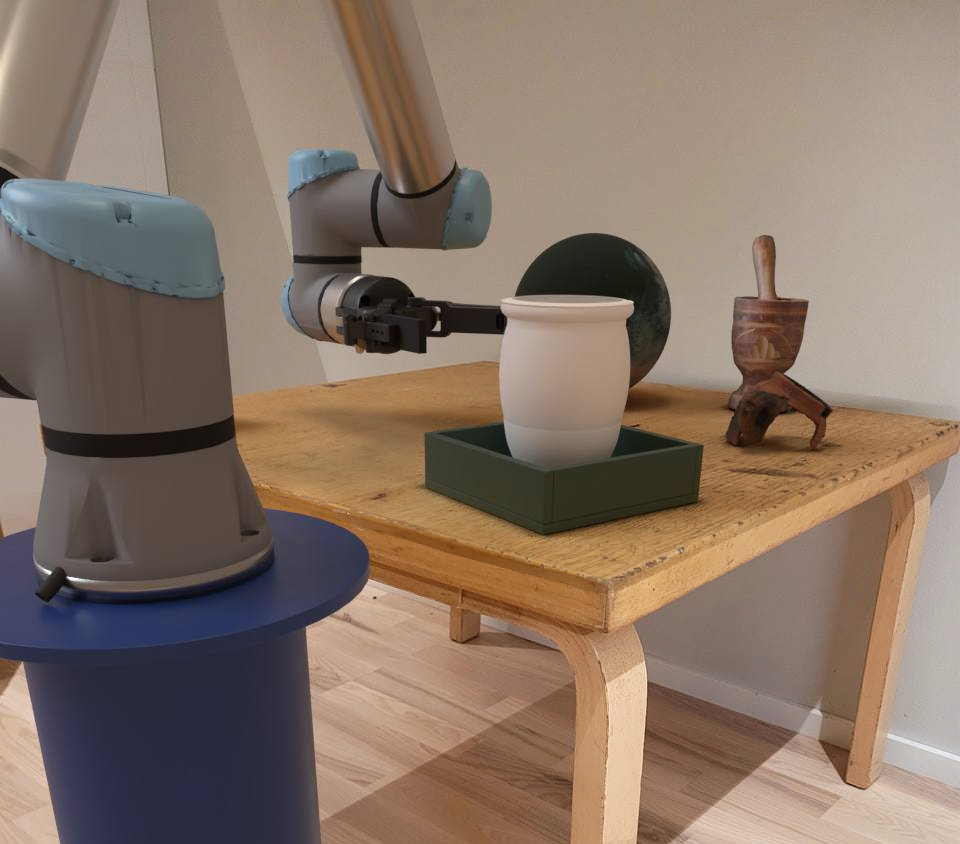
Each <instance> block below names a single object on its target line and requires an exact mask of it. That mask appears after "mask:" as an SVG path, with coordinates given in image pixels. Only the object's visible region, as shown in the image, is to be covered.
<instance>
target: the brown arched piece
mask: <svg viewBox="0 0 960 844" xmlns="http://www.w3.org/2000/svg"><path fill="white" fill-rule="evenodd" d="M782 399H784V400H787V406H788V408H789V407H790V410H789V412H791V413H795V412H797V413H799V414H802V415H804V416H805V417H806V418H807V419H809V420H810V421H811V422H813V424H814V425H815V429H814V432H813V435H812V436H811V438H810V441H809V447H810V448H811V450H816V449H817V448H818V446H819V444H821V442H822V440H823V438H825V437H826V431H827V419H828V417H829V416H830V415H831V414H832V413H833V412H834V410H833V408H831V406H830V405H829V404H828V403H827V402H825V401H824V400H823V399H821V398H820V397H819V396H818V395H816V394H815V393H813V392H812V391H811V390H810V389H808V388H806V387H805V386H804V385H802V384H800V383H799V382H798V381H796V380H795V379H793V378H792V377H790V376H788V375H787V374H785V373H784V374H782V373H779V372H775V373H774V375H773V376H772V378H771V379H770V380H767V381H763V382H761V383H757V384H756V385H755V386H752V387H751V388H750V390H748V391H747V392H746V394H745V395H744V396H742V400H740V401H739V405H738V406H737V407H736V409H735V410H734V411H733V415H732V416H731V419H730V421H729V425H728V427H727V430H726V432H725V434H724V435H725V438H726V439H727V440H728V441H729V442H730V443H731V444H733V445H734V446H738V445H739V443H740V440H741V439H740V438H741V436H742V437H743V439H744V440H745V441H746V442H751V443H761V442H762V441H763V438H764V437H765V435H766V433H767V431H768V429H769V427H770V426H771V425H772V424H773V423H774V421H775V419H776V418H777V417H778V416H779V415H780V414H781V408H782V405H783V401H782Z"/></svg>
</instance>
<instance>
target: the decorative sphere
mask: <svg viewBox="0 0 960 844" xmlns="http://www.w3.org/2000/svg"><path fill="white" fill-rule="evenodd" d="M529 295H589V296H605V297H614V298H621V299H626V300H630V301H633V302H634V303H633V305H634V311H633V314H632V315H631V316H630V317H628V318H627V319H626V329H627V333H628V338H629V347H630V381H629V389H628V390H630V389H631V388H633V387H635V386H636V385H637V384H638V383H640V382H641V381H643V379H645V377H647V375H648V374H649V373H651V371H652V369H653V368H654V367H655V365H656V364H657V363H658V361H659V359H660V357H661V356H662V354H663V352H664V350H665V347H666V345H667V341H668V339H669V334H670V330H671V324H672V323H671V322H672V304H671V297H670V293H669V288H668V287H667V283H666V281H665V279H664V277H663V274H662V273H661V271H660V269H659V268H658V266H657V264H656V263H655V261H654V260H653V259H652V258H651V257H650V256H649V255H648V254H647V253H646V252H645V251H644V250H642V249H641V248H640V247H639V246H637V245H636V244H634V243H633V242H630V241H629V240H627V239H624V238H622V237H619V236H617V235H613V234H609V233H603V232H586V233H580V234H575V235H571V236H569V237H565V238H564V239H560V240H559V241H556V242H555V243H553V244H552V245H550V246H549V247H547V248H545V250H543V251H542V252H541V253H540V254H539V255H537V257H535V259H534V260H533V261H532V262H531V264H529V266H528V268H527V269H526V270H525V271H524V274H523V275H522V277H521V279H520V280H519V283H518V285H517V287H516V290H515V293H514V297H517V296H529Z"/></svg>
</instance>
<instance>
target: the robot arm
mask: <svg viewBox="0 0 960 844" xmlns="http://www.w3.org/2000/svg"><path fill="white" fill-rule="evenodd" d="M316 1H317V3H318V7H319V10H320V12H321V14H322V18H323V20H324V22H325V25H326V28H327V31H328V34H329V36H330V39H331V41H332V44H333V47H334V50H335V52H336V56H337V57H338V58H337V59H338V60H339V64H340V66H341V68H342V71H343V74H344V76H345V80H346V81H347V86H348V87H349V90H350V93H351V95H352V98H353V100H354V103H355V106H356V109H357V112H358V114H359V117H360V119H361V122H362V125H363V127H364V130H365V133H366V136H367V139H368V141H369V144H370V146H371V149H372V152H373V154H374V158H375V160H376V162H377V165H378V168H379V169H367V168H366V169H362V168H360V164H359V159H358V156H357V155H356V153H354V151H350V150H345V149H319V148H318V149H317V148H315V149H312V148H311V149H299V150H296V151H293V152H292V153H291V154H290V155H289V158H288V161H287V163H288V164H287V175H288V179H287V181H288V183H287V185H288V187H287V189H288V190H287V191H288V192H287V195H286V196H287V200H288V203H289V218H290V232H291V244H292V260H293V261H292V275H291V276H289V278H288V279H287V280H286V282H285V285H284V286H283V290H282V291H281V292H282V293H281V296H280V297H281V298H280V304H281V305H280V306H281V310H282V314H283V316H284V318H285V320H286V322H287V323H288V324H289V325H290V327H292V329H293V330H294V331H296V332H297V333H299V334H301V335H303V336H306V337H308V338H309V339H312V340H315V341H318V342H325V343H326V342H327V343H332V344H337V345H338V344H339V345H344V346H347V347H352V348H355V353H356V354H357V355H358V354H359V355H361V354H364V352H365V353H367V354H381V355H393V354H396V353H399V352H400V351H403V352H404V351H405V352H409V353H414V354H418V355H421V354H423V355H424V354H427V353H428V352H427V351H428V349H427V347H428V345H427V340H428V339H427V338H443V339H444V338H447V337H450V335H452V334H471V335H472V334H476V335H497V336H498V335H500V336H501V335H502V336H504V333H505V329H506V326H507V316H505V315H504V314H503V313H502V311H501V305H493V304H477V303H476V304H474V303H473V304H472V303H461V302H460V303H459V302H454V301H453V302H452V301H450V300H438V299H436V300H435V299H434V300H432V299H426V297H422V296H415V294H414V292H413V291H412V289H411V288H410V287H409V286H408V285H407V284H406V283H405V282H404V281H402V280H400V279H398V278H395V277H392V276H383V275H375V274H368V273H362V263H363V260H362V259H363V257H362V248H375V249H377V248H379V249H380V248H381V249H382V248H383V249H385V248H387V249H388V248H389V249H390V248H391V249H394V248H395V249H418V250H419V249H421V250H442V251H445V252H446V251H450V250H466V249H467V250H468V249H475V248H477V247H480V245H482V244H483V243H484V241H485V240H486V238H487V235H488V232H489V230H490V227H491V222H492V214H493V213H492V211H493V204H492V201H493V200H492V192H491V187H490V183H489V181H488V179H487V177H485V176H484V173H483V172H482V171H481V170H478V169H471V168H470V169H469V168H468V167H462V168H460V167H459V165H458V162H457V159H456V156H455V152H454V148H453V145H452V142H451V137H450V134H449V131H448V127H447V124H446V120H445V117H444V113H443V110H442V105H441V102H440V99H439V95H438V92H437V88H436V84H435V81H434V77H433V74H432V70H431V66H430V63H429V60H428V56H427V52H426V49H425V45H424V42H423V38H422V35H421V31H420V27H419V24H418V20H417V17H416V13H415V10H414V6H413V2H412V0H316ZM120 2H121V0H0V398H1V399H2V398H3V399H15V400H27V401H36V403H37V404H36V405H37V409H38V416H39V422H40V425H41V431H42V438H43V443H44V449H45V457H46V464H45V471H44V476H43V481H42V482H43V483H42V488H41V495H40V500H39V505H38V506H39V507H38V513H37V518H36V525H35V527H36V530H35V536H34V542H33V559H34V565H35V570H36V575H37V580H38V582H39V584H40V585H41V586H40V587H39V588H38V589H37V590H36V592H35V594H36V596H37V597H39V598H40V599H41V600H43V601H45V602H48V603H49V602H50V600H51V599H52V598H53V597H54V596H55V595H59V596H62V597H65V598H69V599H73V600H78V601H85V602H92V603H104V604H145V603H158V602H168V601H175V600H182V599H188V598H194V597H199V596H204V595H208V594H212V593H216V592H219V591H223V590H226V589H229V588H232V587H235V586H238V585H240V584H243V583H245V582H247V581H249V580H251V579H253V578H255V577H257V576H258V575H260V574H261V573H263V572H264V571H265V570H267V569H268V568H269V567H270V566H271V564H272V563H273V560H274V543H273V534H272V531H271V527H270V523H269V521H268V518H267V516H266V514H265V511H264V509H263V508H264V507H263V504H262V502H261V499H260V498H259V495H258V493H257V491H256V487H255V486H254V483H253V481H252V478H251V476H250V474H249V472H248V469H247V467H246V465H245V462H244V460H243V458H242V455H241V452H240V450H239V447H238V440H237V432H236V424H235V411H234V408H235V407H234V399H233V388H232V377H231V376H232V375H231V366H230V365H231V364H230V355H229V341H228V330H227V319H226V318H227V317H226V309H225V298H224V297H225V296H224V291H225V289H226V280H225V276H224V273H223V271H222V269H221V262H220V256H219V250H218V244H217V237H216V232H215V228H214V224H213V222H212V220H211V219H210V218H209V216H208V215H207V213H206V212H205V211H204V210H203V209H202V208H201V207H199V206H198V205H197V204H196V203H194V202H192V201H190V200H187V199H184V198H181V197H178V196H173V195H168V194H163V193H158V192H153V191H152V192H151V191H145V190H140V189H132V188H127V187H119V186H111V185H100V184H93V183H87V182H86V183H85V182H78V181H68V180H67V177H68V174H69V171H70V167H71V163H72V161H73V157H74V154H75V151H76V147H77V144H78V141H79V137H80V134H81V131H82V128H83V124H84V121H85V117H86V113H87V111H88V107H89V104H90V101H91V98H92V95H93V91H94V88H95V85H96V82H97V78H98V75H99V71H100V68H101V66H102V61H103V59H104V54H105V52H106V49H107V45H108V42H109V40H110V39H109V38H110V35H111V32H112V29H113V25H114V22H115V19H116V15H117V12H118V9H119V6H120ZM437 308H439V310H438V309H437ZM438 322H440V328H439V329H440V330H434V329H435V328H436V326H437V324H438Z"/></svg>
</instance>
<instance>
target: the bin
mask: <svg viewBox="0 0 960 844" xmlns="http://www.w3.org/2000/svg"><path fill="white" fill-rule="evenodd" d="M423 435H424V487H425V488H427V489H429V490H432V491H434V492H437V493H439V494H442V495H444V496H446V497H449V498H451V499H454V500H456V501H458V502H461V503H463V504H466V505H468V506H471V507H473V508H476V509H478V510H480V511H483V512H486V513H488V514H491V515H493V516H496V517H498V518H501V519H503V520H506V521H508V522H511V523H513V524H516V525H518V526H521V527H523V528H525V529H527V530H531V531H533V532H535V533H538V534H541V535H543V536H544V535H550V534H554V533H558V532H563V531H568V530H572V529H573V530H574V529H577V528H581V527H586V526H590V525H595V524H600V523H605V522H609V521H614V520H619V519H623V518H628V517H632V516H638V515H642V514H646V513H651V512H656V511H660V510H665V509H669V508H675V507H680V506H684V505H688V504H692V503H698V502H699V496H700V493H699V492H700V486H701V476H702V466H703V458H704V457H703V456H704V448H705V447H704V446H705V445H704V444H703V443H698V442H694V441H690V440H685V439H681V438H678V437H673V436H669V435H666V434H661V433H657V432H653V431H648V430H645V429H641V428H636V427H632V426H628V425H624V424H621V427H620V432H619V436H618V440H617V443H616V446H615V449H614V451H613V453H612V455H611V457H610V458H606V459H600V460H594V461H589V462H583V463H577V464H571V465H565V466H559V467H553V468H548V469H547V468H544V467H541V466H537V465H534V464H531V463H528V462H525V461H522V460H519V459H516V458H513V457H512V454H511V452H510V449H509V446H508V443H507V439H506V434H505V428H504V421H501V422H500V421H499V422H494V423H485V424H480V425H479V424H477V425H470V426H463V427H455V428H447V429H439V430H433V431H426V432H424V434H423Z"/></svg>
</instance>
